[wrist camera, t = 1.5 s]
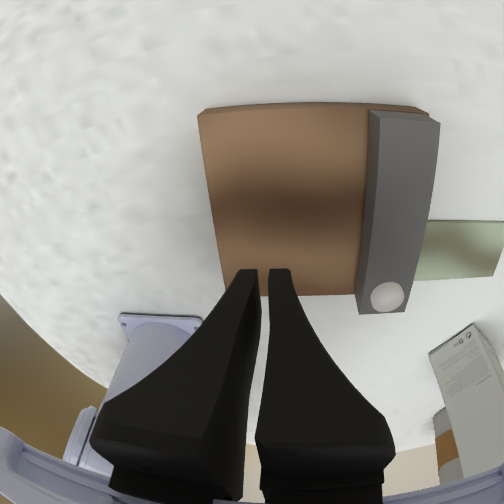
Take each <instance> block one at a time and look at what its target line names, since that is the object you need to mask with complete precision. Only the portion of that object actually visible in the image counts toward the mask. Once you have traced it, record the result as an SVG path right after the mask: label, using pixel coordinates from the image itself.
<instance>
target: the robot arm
mask: <svg viewBox="0 0 504 504" xmlns="http://www.w3.org/2000/svg"><path fill="white" fill-rule="evenodd" d="M268 299H269V319H270V335H269V344H268V354H267V362H266V370H265V378H264V385H263V392H262V398H261V405H260V410H259V416H258V422H257V428H256V433H255V442H256V446H257V450H258V455H259V458H260V463H261V477H260V490H262V492H263V495H264V498H265V503H249V502H237V501H239V500H240V499H241V498H242V497H243V480H244V462H245V446H246V432H247V419H248V407H249V397H250V390H251V384H252V379H253V373H254V368H255V363H256V357H257V352H258V346H259V340H260V331H261V314H262V310H261V300H260V290H259V279H258V269H240V270H239V271H237V273H236V275H235V277H234V278H233V280H232V282H231V283H230V285H229V287H228V288H227V290H226V291H225V293H224V294H223V296H222V297H221V299H220V300H219V302H218V303H217V304H216V306H215V307H214V309H213V310H212V311H211V313H210V314H209V315H208V316H207V318H206V319H205V320H204V321H203V323H202V321H201V320H200V319H199V318H193V317H167V316H147V315H130V314H120V315H119V316H118V321H119V323H120V325H121V327H122V329H123V331H124V333H125V335H126V337H127V339H128V343H127V346H126V348H125V350H124V353H123V355H122V357H121V360H120V362H119V364H118V367H117V369H116V371H115V374H114V376H113V379H112V381H111V384H110V386H109V389H108V391H107V394H106V396H105V399H104V400H103V401H102V403H101V406H100V408H99V411H98V413H96V410H97V409H96V408H94V407H92V406H90V407H89V408H85V409H82V411H81V412H80V414H79V416H78V418H77V421H76V423H75V425H74V428H73V430H72V433H71V436H70V438H69V441H68V444H67V447H66V450H65V453H64V456H63V460H61V459H58V458H56V457H54V456H51V455H49V454H46V453H44V452H42V451H40V450H37V449H35V448H33V447H31V446H29V445H27V444H25V443H24V442H23V441H22V440H21V439H20V438H18V437H17V436H16V435H14V434H13V433H11V432H10V431H8V430H6V429H4V428H2V427H0V493H1V494H2V495H3V496H5V497H6V498H7V499H9V500H10V501H12V502H13V503H14V504H504V462H503V463H502V464H501V465H500V466H498V467H495V468H493V469H490V470H487V471H484V472H481V473H479V474H476V475H473V476H470V477H466V478H463V479H460V480H457V481H453V482H450V483H446V484H442V485H438V486H435V487H431V488H427V489H422V490H417V491H414V492H408V493H403V494H398V495H392V496H386V497H382V484H383V483H384V471H383V470H384V468H385V467H386V466H387V465H388V464H389V463H390V462H391V461H392V460H393V458H394V457H395V455H396V453H395V445H394V441H393V437H392V434H391V432H390V429H389V426H388V424H387V422H386V419H385V417H384V416H383V415H382V414H381V413H380V412H379V411H378V410H377V409H376V408H374V407H373V406H372V405H371V404H370V403H369V402H368V401H367V400H366V399H365V398H364V397H363V396H362V394H361V393H360V392H359V391H358V390H357V389H356V388H355V387H354V386H353V385H352V383H351V382H350V381H349V380H348V379H347V377H346V376H345V375H344V374H343V372H342V371H341V370H340V369H339V367H338V366H337V365H336V364H335V362H334V361H333V360H332V358H331V357H330V355H329V354H328V352H327V351H326V349H325V348H324V346H323V345H322V343H321V342H320V340H319V339H318V337H317V335H316V333H315V332H314V330H313V328H312V326H311V324H310V323H309V321H308V319H307V317H306V315H305V313H304V310H303V308H302V306H301V304H300V301H299V299H298V296H297V294H296V291H295V288H294V285H293V281H292V277H291V271H290V270H289V269H288V268H279V269H270V270H269V276H268Z"/></svg>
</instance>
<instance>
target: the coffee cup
mask: <svg viewBox="0 0 504 504" xmlns="http://www.w3.org/2000/svg"><path fill="white" fill-rule="evenodd" d="M434 429H435V437H436V438H435V442H436V451H437V461H438V473H439V479H440V485H442V484H446V483H450V482H453V481H457V480H460V479H463V478H464V477H463V472H462V467H461V463H460V458H459V454H458V450H457V446H456V442H455V438H454V435H453V431H452V427H451V424H450V420H449V417H448V414H447V410H446V407H445V408H444V409H442V410H441V411H439V412H438V413H437V414H436V415H435V420H434Z"/></svg>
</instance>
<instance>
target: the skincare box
mask: <svg viewBox="0 0 504 504" xmlns="http://www.w3.org/2000/svg"><path fill="white" fill-rule="evenodd" d="M429 359H430V361H431V364H432V367H433V370H434V373H435V375H436V378H437V381H438V384H439V387H440V390H441V393H442V397H443V400H444V403H445V407H446V410H447V414H448V417H449V420H450V424H451V427H452V431H453V435H454V438H455V442H456V446H457V450H458V454H459V458H460V463H461V467H462V472H463V477H464V478H466V477H470V476H473V475H476V474H479V473H481V472H484V471H487V470H490V469H493V468H495V467H498V466H500V465H501V464H502V463H503V462H504V371H503V369H502V367H501V364H500V362H499V360H498V358H497V355H496V353H495V351H494V350H493V348H492V347H491V345H490V344H489V342H488V341H487V340H486V338H485V337H484V336H483V334H482V333H481V332H480V331H479V330H478V329H477V327H476V326H475V325H474V324H473V325H471V326H470V327H468V328H467V329H465V330H464V331H463V332H462V333H460V334H459V335H457V336H456V337H454V338H453V339H451V340H449V341H448V342H446V343H445V344H443V345H442V346H440V347H438V348H437V349H435V350H434V351H432V352H431V353H430V354H429Z"/></svg>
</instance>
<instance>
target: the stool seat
mask: <svg viewBox="0 0 504 504" xmlns="http://www.w3.org/2000/svg"><path fill="white" fill-rule="evenodd" d="M369 110H376V111H391V112H404V113H415V114H424V115H426V116H428V117H429V113H427V112H424V111H422V110H420V109H418V108H416V107H410V106H398V105H385V104H369V103H340V102H302V103H273V104H256V105H242V106H231V107H221V108H211V109H205V110H204V111H203V112H201V113H200V114H198V115H197V119H198V126H199V133H200V140H201V147H202V153H203V160H204V166H205V173H206V179H207V186H208V192H209V198H210V204H211V210H212V216H213V222H214V228H215V234H216V240H217V245H218V251H219V257H220V262H221V268H222V274H223V279H224V284H225V290H227V288H228V287H229V285H230V283H231V282H232V280H233V278H234V277H235V275H236V273H237V271H239V270H240V269H258V279H259V290H260V296H268V276H269V270H270V269H279V268H288V269H289V270H290V271H291V277H292V281H293V285H294V288H295V291H296V294H297V296H312V295H347V294H355V293H354V292H355V285H356V278H357V270H358V263H359V255H360V246H361V237H362V228H363V217H364V206H365V193H366V178H367V160H368V133H369ZM503 247H504V221H458V220H427V224H426V229H425V234H424V239H423V243H422V248H421V252H420V256H419V261H418V265H417V269H416V273H415V276H414V280H413V281H423V280H442V279H458V278H474V277H488V276H493V274H494V271H495V269H496V266H497V263H498V261H499V258H500V255H501V252H502V249H503Z"/></svg>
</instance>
